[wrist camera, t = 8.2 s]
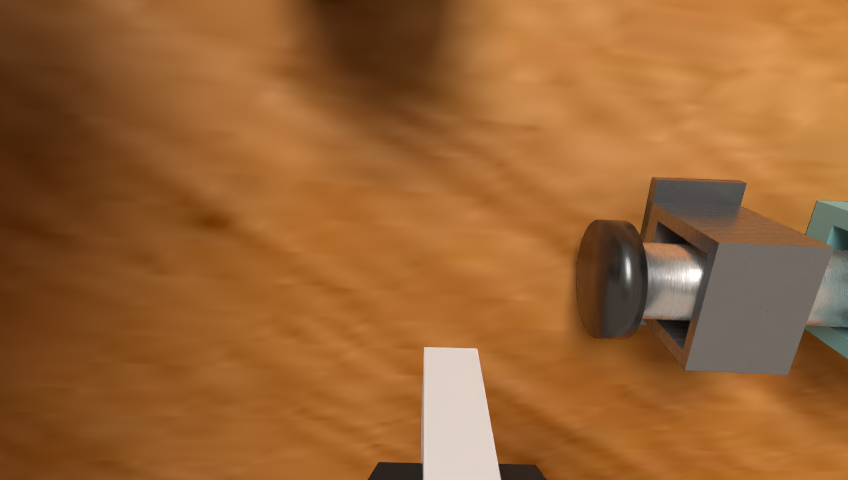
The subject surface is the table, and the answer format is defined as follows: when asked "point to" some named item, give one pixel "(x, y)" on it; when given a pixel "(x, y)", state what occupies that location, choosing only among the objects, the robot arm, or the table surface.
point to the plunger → (665, 282)
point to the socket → (843, 231)
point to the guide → (735, 278)
